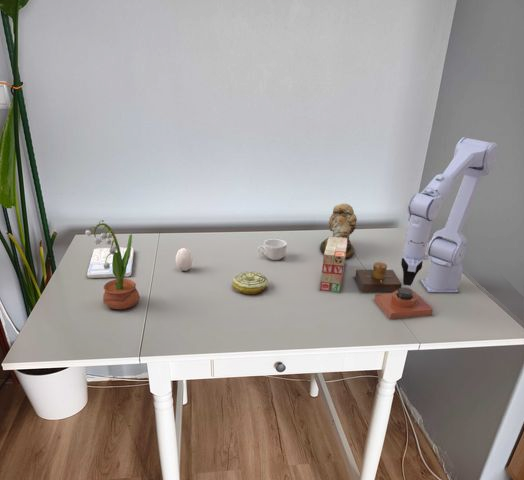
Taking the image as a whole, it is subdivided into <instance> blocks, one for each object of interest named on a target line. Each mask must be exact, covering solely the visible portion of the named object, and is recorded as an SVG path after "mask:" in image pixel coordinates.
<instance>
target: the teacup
mask: <svg viewBox="0 0 524 480" xmlns="http://www.w3.org/2000/svg"><path fill="white" fill-rule="evenodd" d="M287 247H288V242H287V241H286V240H284V239H281V238H268V239H265V240H264V241H263V245H260V246H258V247H257V252H258V253H259V254H261V255H264V256H265V257H266V258H267V259H269V260H271V261H279V260H281V259H282V258H284V257H285V254H286V252H287ZM260 249H262V250H263V252H262V251H260Z"/></svg>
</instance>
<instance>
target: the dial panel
mask: <svg viewBox="0 0 524 480" xmlns="http://www.w3.org/2000/svg"><path fill="white" fill-rule="evenodd" d="M372 273H373V269H356V270H355V273H354V274H355V275H354V279H355V281H356V283H357V285H358V288H359V290H360V292H361V293H362V294H388V293H393V292H395V291H397V290H399V289H400V288H402V286H403V285H402V284H403V283H402V282H401V280H400V279H399V276H397V274H396V273H395V270H394V269H386V275H385V278H384V279H375V278H373V277H372Z"/></svg>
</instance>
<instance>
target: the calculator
mask: <svg viewBox="0 0 524 480" xmlns="http://www.w3.org/2000/svg"><path fill="white" fill-rule="evenodd" d="M110 248H111V247H97V248H94V249H93V251H92V255H91V257H90V262H89V265H88V269H87V273H86V276H87V278H89V279H104V278H105V279H106V278H116V277H115V275H114V274H113V270H112V262H113V254H110V251H109V249H110ZM119 248H120V252H121V257H122V259H123V256H124V254H125V252H126V249H127V246H125V247H121V246H119ZM134 250H135V249H134V248H133V247H132V246H131V251H130V258H129V261H128V264H127V268H126V273H125V275H124V278H127V277H130V276H132V271H133V261H134V254H135V251H134ZM115 252H117V249H116V251H115ZM109 254H110V255H109ZM108 255H109V256H108ZM107 256H108V257H107ZM106 258H107V260H106ZM105 261H106V262H107V263H109V264H110V267H111V268H109V269H104V266H103V265H104V263H105Z"/></svg>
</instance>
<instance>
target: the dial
mask: <svg viewBox="0 0 524 480" xmlns="http://www.w3.org/2000/svg"><path fill="white" fill-rule="evenodd" d="M372 270H373V273H372V277H373V278H375V279H384V278H385V275H386V270H388V265H387V263H385V262H381V261H377V262H374V264H373V268H372Z"/></svg>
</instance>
